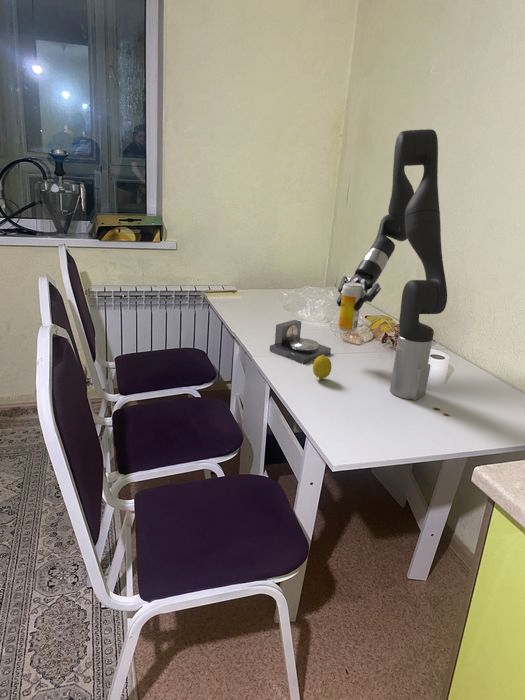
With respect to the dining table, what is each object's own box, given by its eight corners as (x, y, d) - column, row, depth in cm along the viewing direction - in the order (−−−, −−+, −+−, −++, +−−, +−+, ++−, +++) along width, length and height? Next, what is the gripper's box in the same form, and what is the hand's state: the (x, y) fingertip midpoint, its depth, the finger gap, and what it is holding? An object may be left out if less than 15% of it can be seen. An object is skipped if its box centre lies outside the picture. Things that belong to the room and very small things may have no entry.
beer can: (344, 325, 165) (349, 281, 159) (360, 329, 161) (366, 284, 156) (334, 329, 160) (339, 283, 155) (350, 333, 157) (356, 287, 151)
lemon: (329, 384, 147) (332, 359, 144) (310, 381, 148) (313, 356, 145) (330, 377, 152) (333, 352, 149) (312, 374, 153) (315, 350, 150)
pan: (324, 346, 169) (324, 344, 169) (306, 353, 162) (306, 350, 162) (302, 339, 175) (302, 336, 175) (283, 345, 168) (283, 342, 168)
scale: (330, 353, 171) (333, 328, 168) (303, 363, 161) (305, 337, 158) (297, 341, 181) (299, 318, 177) (269, 350, 170) (271, 326, 167)
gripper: (349, 255, 163) (324, 295, 159) (388, 262, 153) (362, 305, 149) (357, 269, 168) (332, 308, 164) (394, 277, 159) (369, 319, 155)
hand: (346, 307), depth 157 cm, fingers closed on beer can, 6 cm apart
